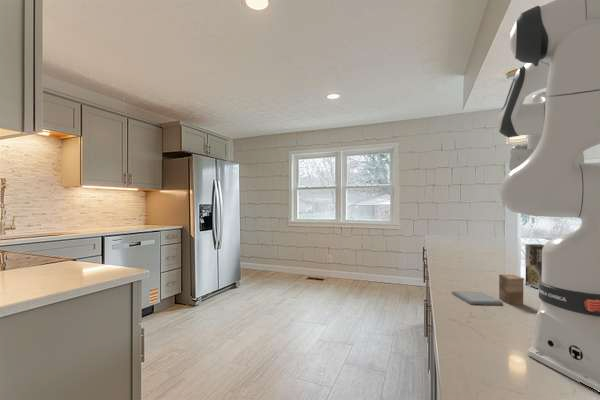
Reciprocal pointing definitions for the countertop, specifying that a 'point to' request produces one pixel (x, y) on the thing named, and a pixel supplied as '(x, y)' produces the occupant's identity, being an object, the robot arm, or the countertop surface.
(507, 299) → the walnut block
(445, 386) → the countertop surface
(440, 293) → the countertop surface
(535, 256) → the coffee box
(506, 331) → the countertop surface
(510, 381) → the countertop surface
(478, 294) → the plate
